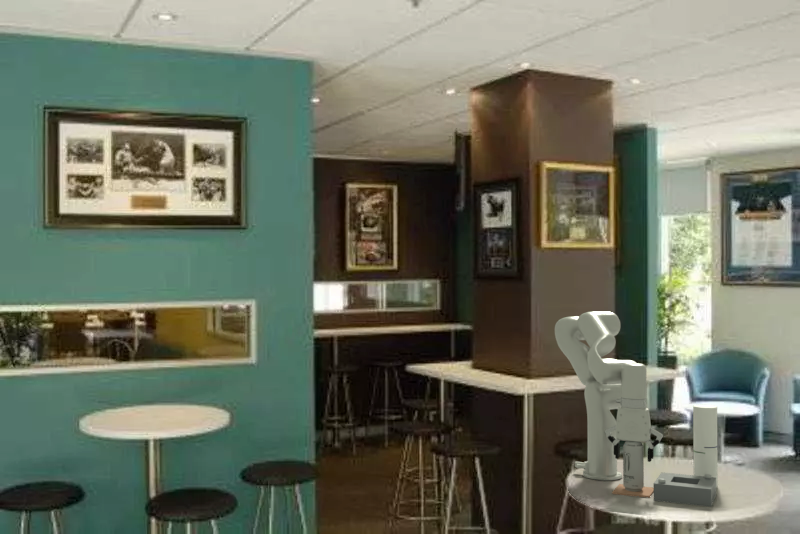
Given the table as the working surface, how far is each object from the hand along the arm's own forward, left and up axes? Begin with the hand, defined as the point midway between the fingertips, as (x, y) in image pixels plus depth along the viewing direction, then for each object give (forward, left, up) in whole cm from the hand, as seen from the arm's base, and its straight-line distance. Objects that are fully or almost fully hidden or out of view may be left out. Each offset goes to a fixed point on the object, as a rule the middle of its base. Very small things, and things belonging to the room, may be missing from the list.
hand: (633, 459), depth 258 cm
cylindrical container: (+19, +18, -10) cm, 28 cm away
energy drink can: (0, 0, -9) cm, 9 cm away
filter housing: (+15, 0, -10) cm, 18 cm away
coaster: (0, 0, -10) cm, 10 cm away
